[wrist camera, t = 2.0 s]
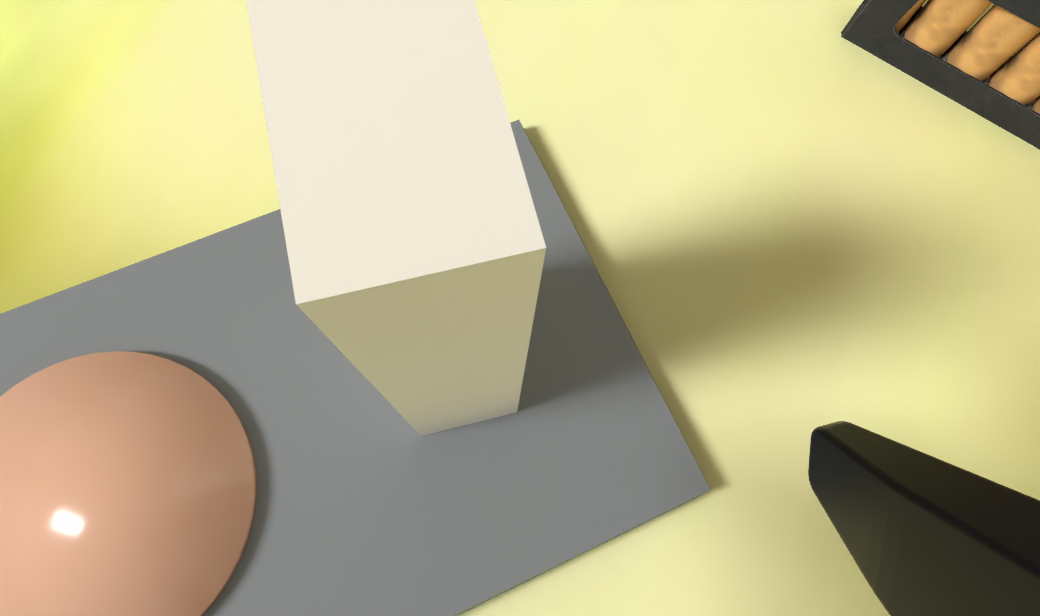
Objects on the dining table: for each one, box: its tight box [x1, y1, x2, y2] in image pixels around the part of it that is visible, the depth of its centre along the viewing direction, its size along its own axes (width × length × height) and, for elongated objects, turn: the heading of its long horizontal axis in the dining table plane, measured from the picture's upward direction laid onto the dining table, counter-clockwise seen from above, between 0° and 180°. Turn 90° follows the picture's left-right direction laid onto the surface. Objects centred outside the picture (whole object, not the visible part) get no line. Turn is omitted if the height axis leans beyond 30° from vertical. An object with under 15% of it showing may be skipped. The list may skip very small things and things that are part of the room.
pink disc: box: [0, 351, 257, 616], centre depth 19 cm, size 9×9×1 cm
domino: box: [246, 0, 546, 436], centre depth 15 cm, size 4×3×13 cm
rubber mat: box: [0, 120, 711, 616], centre depth 20 cm, size 22×14×1 cm, turn 114°
